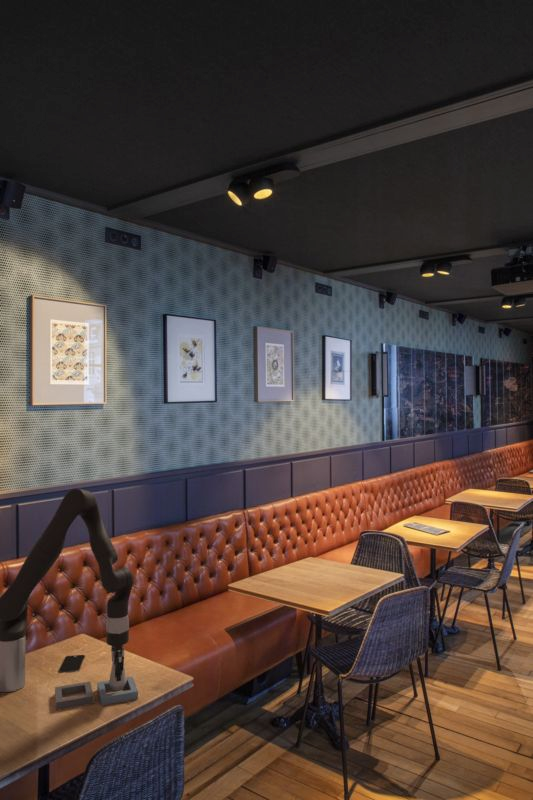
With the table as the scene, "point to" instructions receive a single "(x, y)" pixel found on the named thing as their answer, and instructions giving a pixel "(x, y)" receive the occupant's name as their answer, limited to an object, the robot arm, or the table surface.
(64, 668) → the smartphone
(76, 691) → the collar
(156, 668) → the table surface
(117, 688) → the salt shaker
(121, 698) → the collar
